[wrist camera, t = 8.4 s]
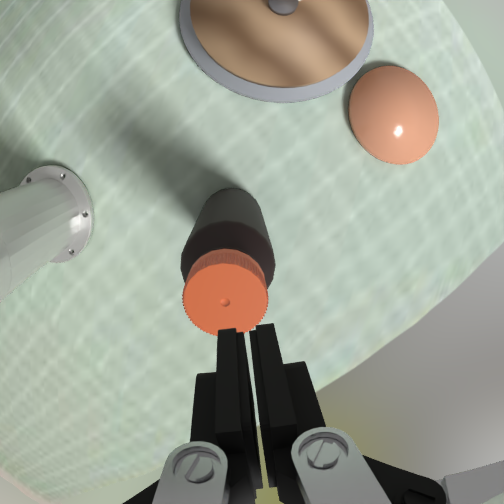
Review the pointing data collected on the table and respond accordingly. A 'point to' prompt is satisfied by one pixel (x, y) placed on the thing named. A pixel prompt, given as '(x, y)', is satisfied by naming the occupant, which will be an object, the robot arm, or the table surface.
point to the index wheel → (281, 38)
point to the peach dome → (393, 115)
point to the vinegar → (227, 264)
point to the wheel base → (263, 91)
